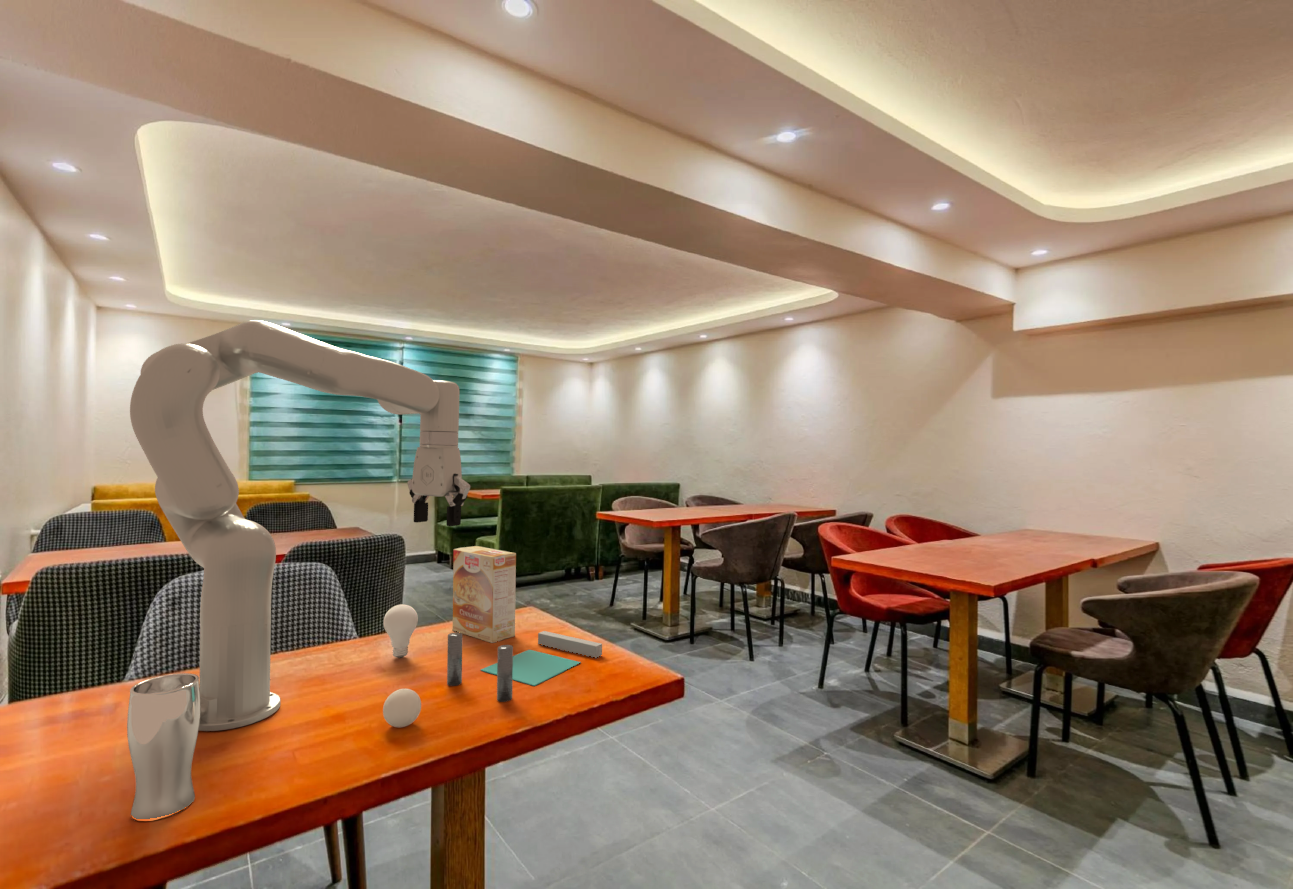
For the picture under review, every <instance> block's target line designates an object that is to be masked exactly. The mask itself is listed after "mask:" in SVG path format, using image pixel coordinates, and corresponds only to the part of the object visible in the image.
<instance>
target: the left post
mask: <svg viewBox="0 0 1293 889" xmlns="http://www.w3.org/2000/svg"><path fill="white" fill-rule="evenodd" d="M446 659H447V663H446V664H447V667H446V668H447V671H446V672H447V674H446V685H447V686H450V687H455V686H459V685H461V684H462V683H463V634H462V633H459V632H450V633H449V634H447V658H446Z"/></svg>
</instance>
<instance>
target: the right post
mask: <svg viewBox="0 0 1293 889" xmlns="http://www.w3.org/2000/svg"><path fill="white" fill-rule="evenodd" d="M513 656H514V647H513V645H511V644H502V645H499V646H497V662H496V663H497V675H496V677H497V679H496V687H497V688H496V701H498V702H501V703H506V702H510V701H512V700H513V681H514V680H513Z"/></svg>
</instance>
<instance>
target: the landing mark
mask: <svg viewBox="0 0 1293 889" xmlns="http://www.w3.org/2000/svg"><path fill="white" fill-rule="evenodd" d="M579 663H580V664H582V661H577V660H574V659H569V658H565V657H561V656H557V655H552V654H549V653H545V652H542V651H537V650H532V649H527V650H524V651H522V652H520V653H518V654H514V655H513V680H512V681H515V682H519V683H522V684H524V685H530V686H532V687H535V686H538V685H540V684H541V683H542V684H543V683H544V682H546V681H548V680H550V679H552V678H554V677H556V676H557V675H560V674H562V673H565V672H566V671H567V669H568V670H570V669H572V668H574V667H576V666H578V665H580V664H579ZM577 664H578V665H577ZM573 666H574V667H573ZM571 667H572V668H571ZM480 671H481V672H484V673H487V674H490V675H494V676H497V662H495V663H493V664H490V665H488V666H485V667H484V668H481V669H480Z"/></svg>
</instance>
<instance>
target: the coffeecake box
mask: <svg viewBox="0 0 1293 889" xmlns="http://www.w3.org/2000/svg"><path fill="white" fill-rule="evenodd" d="M452 559H453V562H452V563H453V564H452V565H453V566H452V568H453V572H452V573H453V574H452V576H453V577H452V628H451V629H452V631H453V632H456V631H457V632H456V633H459V632H460V633H462V635H465V636H466V635H467V636H469V637H473V638H475V639H479V640H481V641H485V642H488V643H491V644H494V643H497V641H498V642H501V641H503V640H506V639H509V638H512V637H515V636H516V590H517V589H516V588H517V587H516V585H517V583H516V581H517V580H516V578H517V576H516V573H517V569H516V567H517V553H516V552H510V551H507V550H501V549H495V548H489V547H484V546H478V545H474V546H473V545H472V546H466V547H465V546H464V547H458V548H454V549H453V558H452Z"/></svg>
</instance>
